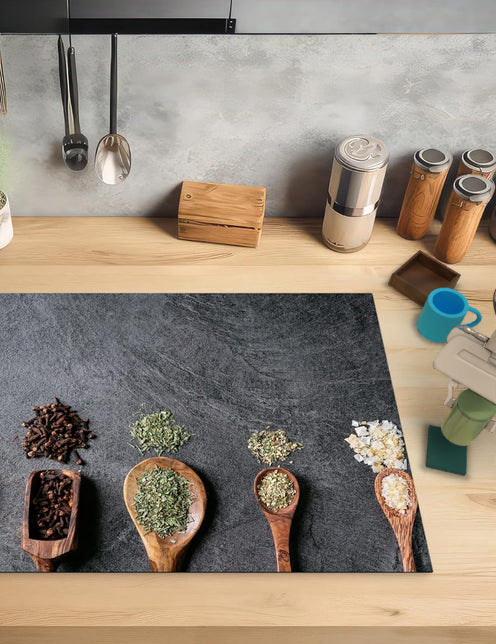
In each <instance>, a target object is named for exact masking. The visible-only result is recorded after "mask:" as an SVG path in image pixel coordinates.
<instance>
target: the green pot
mask: <svg viewBox="0 0 496 644" xmlns="http://www.w3.org/2000/svg"><path fill="white" fill-rule="evenodd" d="M455 399H456V401H455V402H454V404H453V406H452V407H451V408H449V410H448V412H447V414H446V415H445V416H444V418H443V419H442V421H441V424H440V427H441V430H442V433H443V435H444V436H445V437H446V438H447V439H448V440H449V441H450V442H452V443H454V444H456V445H461V446H466V445H467V446H470V445H472V444H474V443H475V442H476V441H477V439H478V438H479V437H480V435H481V434H482V432H483V431H484V430H485V429H484V428H485V427H486V425H487V424H488V423H489V421H490V420H493V418H494V416H495V415H496V404H494V403H493V402H491V401H489V400H487V399H486V398H484V397H482V396H480V395H479V394H477V393H475V392H474V391H472V390H470V389H468V388H466V389H463V390H462V391H460V393H459V394H458V396H457V397H456V398H455Z"/></svg>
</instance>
